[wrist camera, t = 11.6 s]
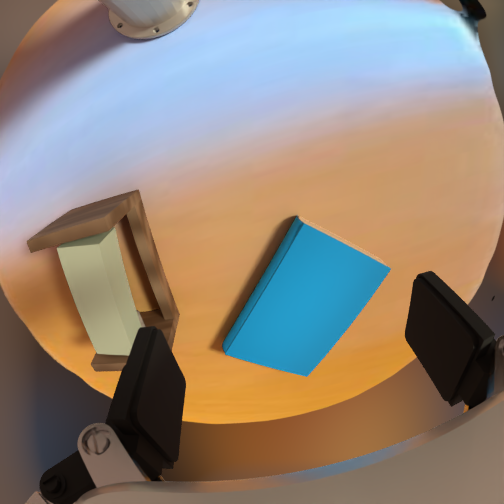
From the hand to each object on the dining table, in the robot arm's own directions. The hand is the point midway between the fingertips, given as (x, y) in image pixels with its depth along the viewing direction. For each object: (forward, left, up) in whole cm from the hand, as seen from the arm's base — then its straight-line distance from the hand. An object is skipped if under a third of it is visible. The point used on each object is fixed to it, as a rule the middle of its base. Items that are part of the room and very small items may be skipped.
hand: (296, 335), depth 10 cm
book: (+21, +5, -31) cm, 38 cm away
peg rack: (+9, -21, -30) cm, 38 cm away
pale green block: (+9, -21, -24) cm, 33 cm away
